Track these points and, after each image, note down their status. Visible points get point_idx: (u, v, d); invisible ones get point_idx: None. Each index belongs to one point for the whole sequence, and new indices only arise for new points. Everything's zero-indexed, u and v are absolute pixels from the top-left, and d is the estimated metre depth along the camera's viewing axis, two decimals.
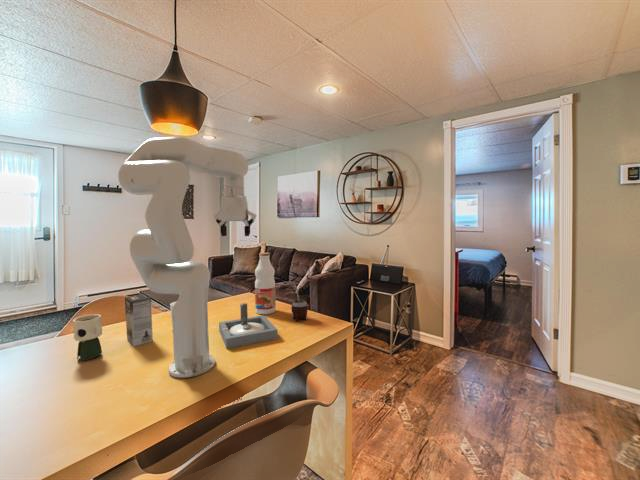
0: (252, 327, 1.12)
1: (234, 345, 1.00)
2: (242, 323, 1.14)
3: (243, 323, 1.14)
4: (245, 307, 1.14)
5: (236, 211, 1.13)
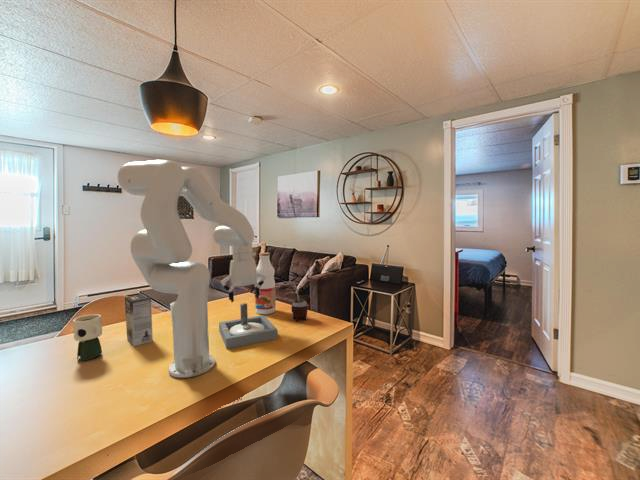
0: (252, 327, 1.12)
1: (234, 345, 1.00)
2: (242, 323, 1.14)
3: (243, 323, 1.14)
4: (245, 307, 1.14)
5: None
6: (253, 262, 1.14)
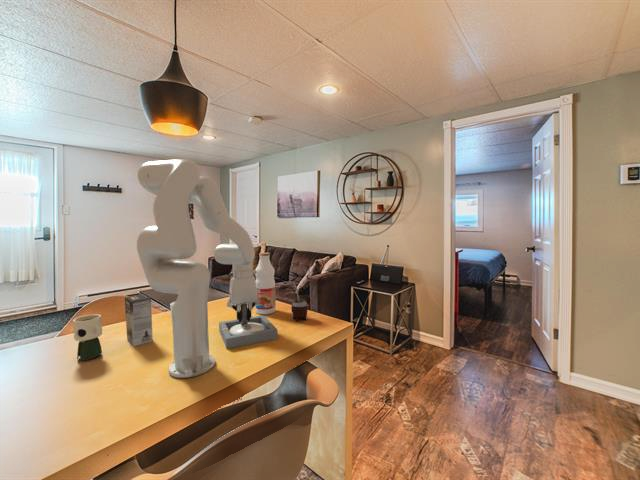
0: (252, 327, 1.12)
1: (234, 345, 1.00)
2: (242, 323, 1.14)
3: (243, 323, 1.14)
4: (245, 307, 1.14)
5: None
6: (253, 280, 1.14)
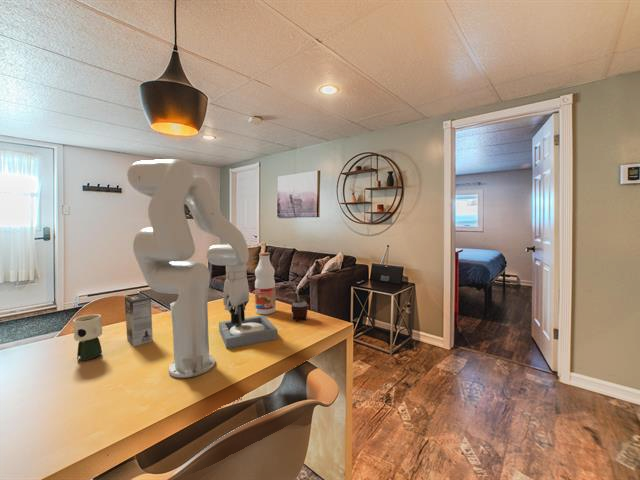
0: (251, 326, 1.12)
1: (234, 345, 1.00)
2: (237, 325, 1.12)
3: (238, 325, 1.12)
4: (240, 308, 1.13)
5: None
6: (246, 279, 1.14)
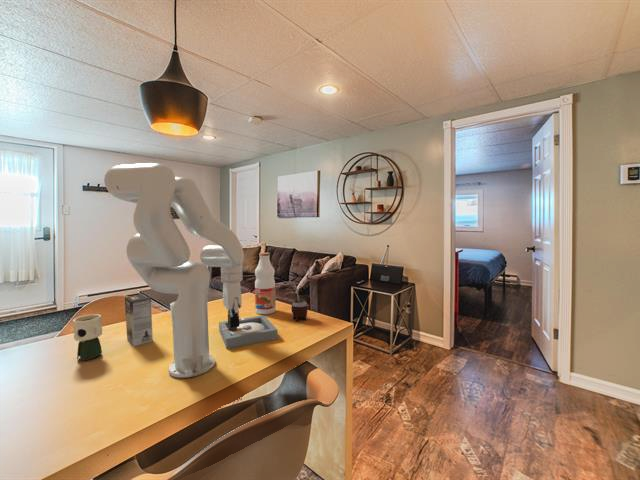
0: None
1: (234, 345, 1.00)
2: (236, 328, 1.08)
3: (236, 328, 1.09)
4: None
5: (226, 299, 1.05)
6: None
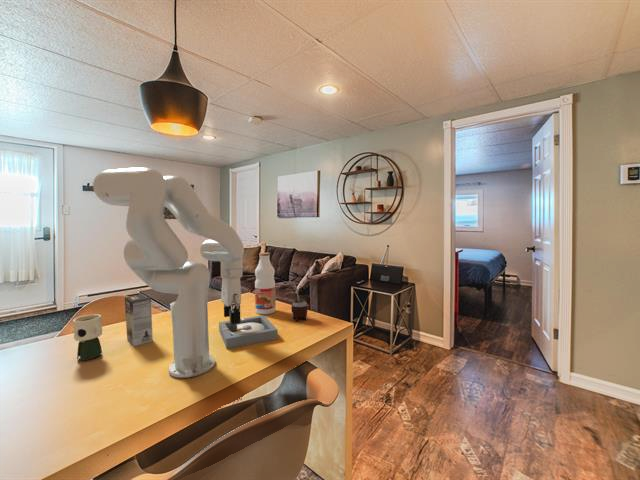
0: None
1: (234, 345, 1.00)
2: (236, 329, 1.08)
3: (237, 328, 1.09)
4: None
5: (225, 295, 1.03)
6: None
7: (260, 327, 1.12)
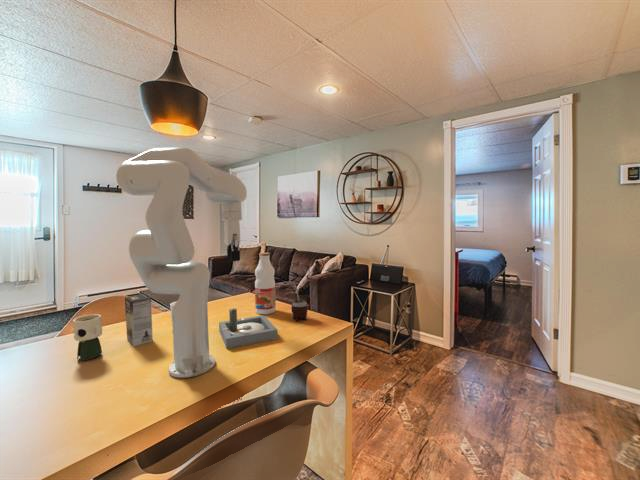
0: None
1: (234, 345, 1.00)
2: (236, 329, 1.08)
3: (237, 328, 1.09)
4: None
5: (226, 235, 1.14)
6: None
7: (260, 327, 1.12)
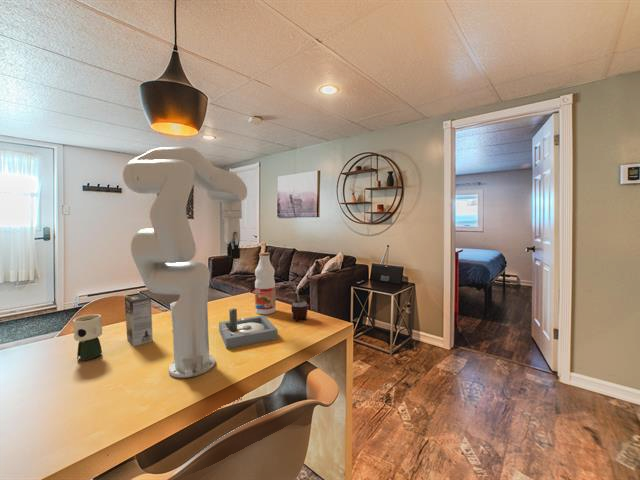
0: None
1: (234, 345, 1.00)
2: (236, 329, 1.08)
3: (237, 328, 1.09)
4: None
5: (226, 234, 1.16)
6: None
7: (260, 327, 1.12)
